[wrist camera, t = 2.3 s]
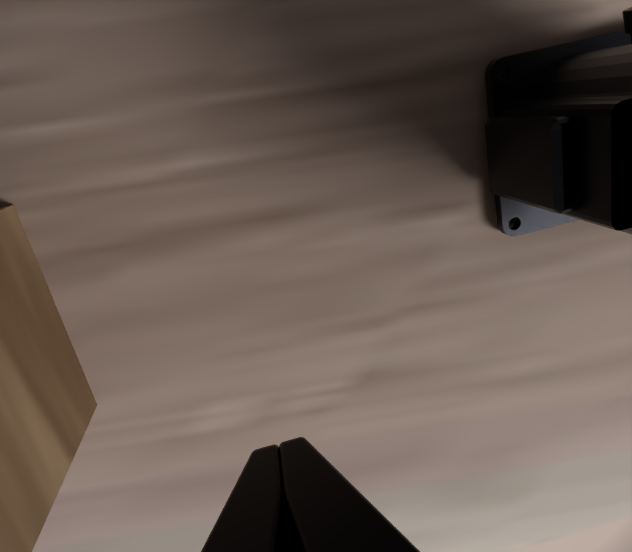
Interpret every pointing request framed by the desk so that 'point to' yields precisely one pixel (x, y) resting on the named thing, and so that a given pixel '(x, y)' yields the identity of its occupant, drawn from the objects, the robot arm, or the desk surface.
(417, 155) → the desk surface
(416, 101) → the desk surface
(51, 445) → the tile
